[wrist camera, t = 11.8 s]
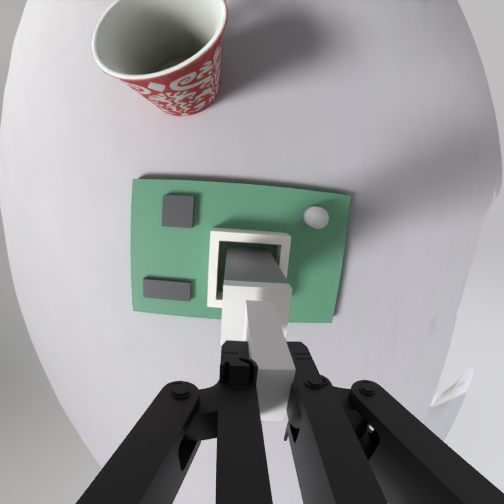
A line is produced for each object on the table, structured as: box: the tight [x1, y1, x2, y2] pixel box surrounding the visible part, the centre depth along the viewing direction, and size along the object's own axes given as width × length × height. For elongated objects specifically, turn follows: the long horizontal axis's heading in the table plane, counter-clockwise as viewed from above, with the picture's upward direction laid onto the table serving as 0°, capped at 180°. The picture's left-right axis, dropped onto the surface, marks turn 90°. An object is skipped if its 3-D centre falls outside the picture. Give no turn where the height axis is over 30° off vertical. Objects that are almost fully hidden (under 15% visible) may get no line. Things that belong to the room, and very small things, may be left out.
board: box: [131, 179, 351, 323], centre depth 28 cm, size 14×22×4 cm, turn 85°
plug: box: [220, 245, 292, 345], centre depth 23 cm, size 4×4×12 cm
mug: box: [91, 0, 228, 116], centre depth 18 cm, size 13×9×14 cm
